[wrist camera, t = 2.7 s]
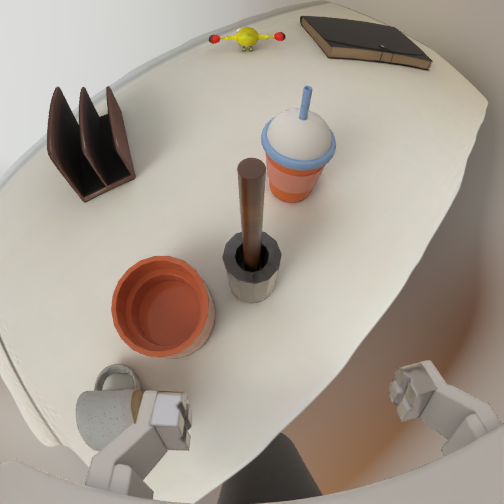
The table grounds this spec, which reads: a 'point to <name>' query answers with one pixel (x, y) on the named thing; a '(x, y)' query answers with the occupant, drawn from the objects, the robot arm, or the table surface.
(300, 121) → the cup with straw
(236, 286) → the tube
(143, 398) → the robot arm
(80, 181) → the letter holder
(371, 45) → the black book
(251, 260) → the stick
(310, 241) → the table surface
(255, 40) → the toy figure
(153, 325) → the bowl
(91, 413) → the ceramic mug
